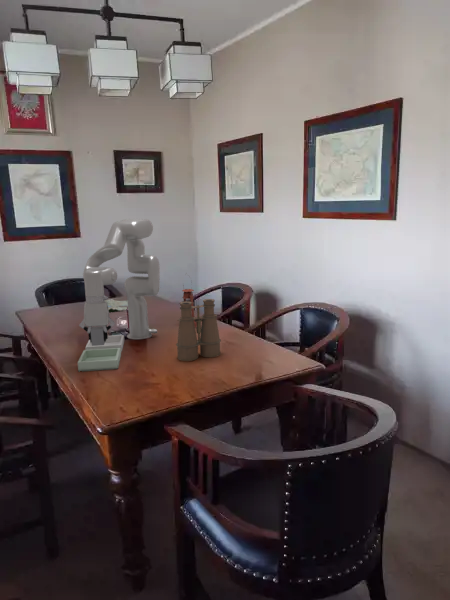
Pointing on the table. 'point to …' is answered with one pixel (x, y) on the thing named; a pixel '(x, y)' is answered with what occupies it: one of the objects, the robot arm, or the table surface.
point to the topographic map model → (116, 305)
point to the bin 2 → (99, 359)
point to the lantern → (189, 295)
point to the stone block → (97, 336)
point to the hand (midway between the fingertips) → (98, 340)
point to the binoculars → (208, 330)
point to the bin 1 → (108, 343)
